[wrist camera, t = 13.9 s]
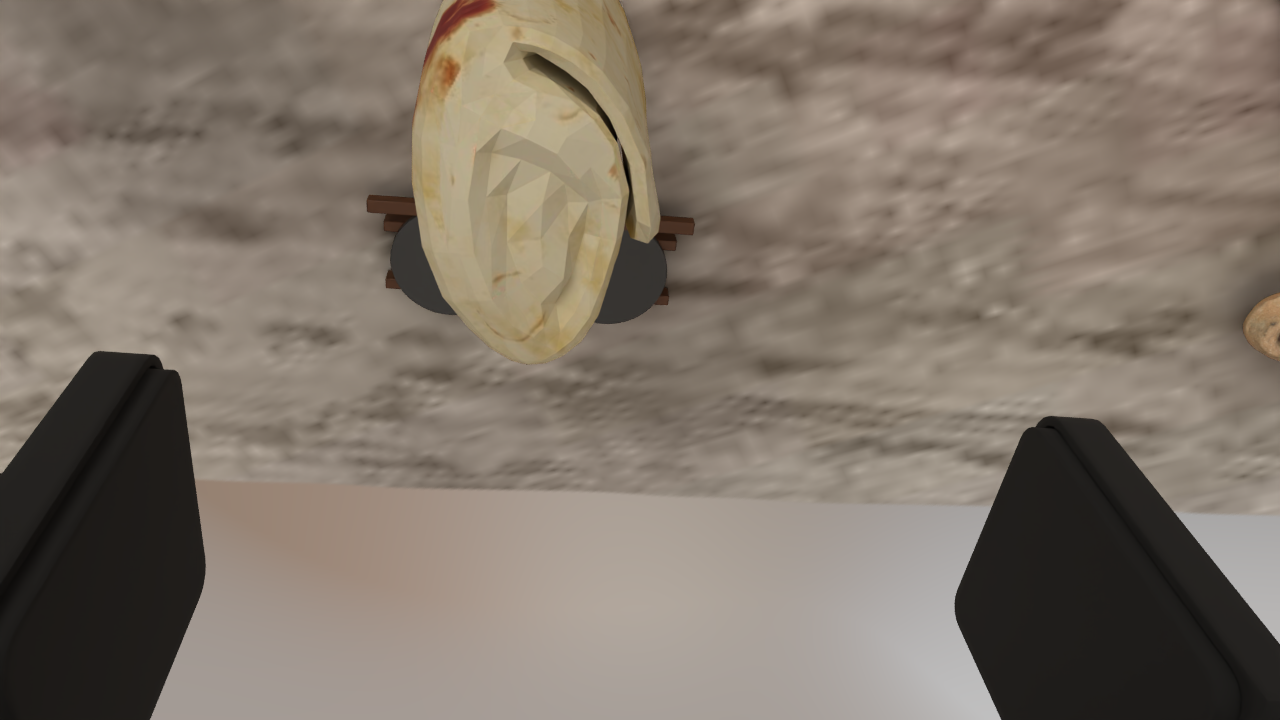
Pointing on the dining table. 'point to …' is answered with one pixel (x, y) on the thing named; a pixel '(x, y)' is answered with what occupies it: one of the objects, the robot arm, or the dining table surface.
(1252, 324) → the pottery oil lamp
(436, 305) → the sunglasses
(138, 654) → the robot arm
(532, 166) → the food model
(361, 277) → the dining table surface
